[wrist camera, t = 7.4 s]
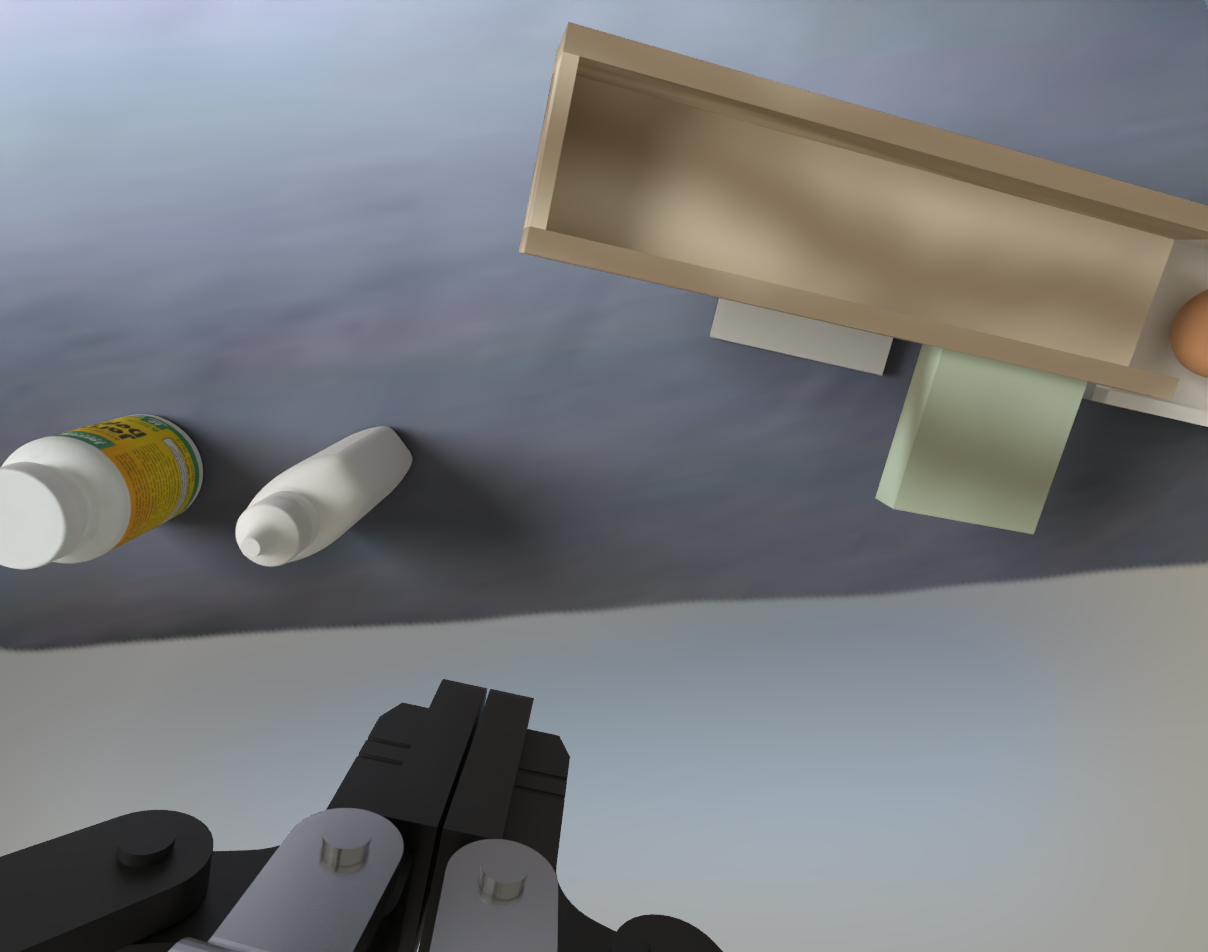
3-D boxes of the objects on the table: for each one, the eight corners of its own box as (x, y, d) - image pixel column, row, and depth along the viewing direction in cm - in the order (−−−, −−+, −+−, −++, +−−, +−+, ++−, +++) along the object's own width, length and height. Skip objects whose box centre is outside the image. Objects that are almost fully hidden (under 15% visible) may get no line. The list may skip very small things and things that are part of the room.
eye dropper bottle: (295, 432, 40) (157, 493, 28) (409, 422, 40) (318, 479, 28) (311, 519, 41) (184, 613, 29) (423, 509, 41) (340, 600, 29)
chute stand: (765, 109, 36) (794, 72, 30) (943, 150, 36) (1008, 122, 30) (709, 336, 38) (725, 346, 32) (876, 373, 38) (925, 390, 32)
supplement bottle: (116, 525, 41) (-34, 596, 32) (85, 420, 40) (-80, 462, 31) (219, 510, 41) (99, 578, 32) (192, 404, 40) (58, 441, 30)
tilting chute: (551, 63, 29) (568, 21, 24) (1122, 220, 34) (1241, 215, 29) (486, 408, 32) (488, 439, 27) (1021, 509, 37) (1112, 552, 32)
